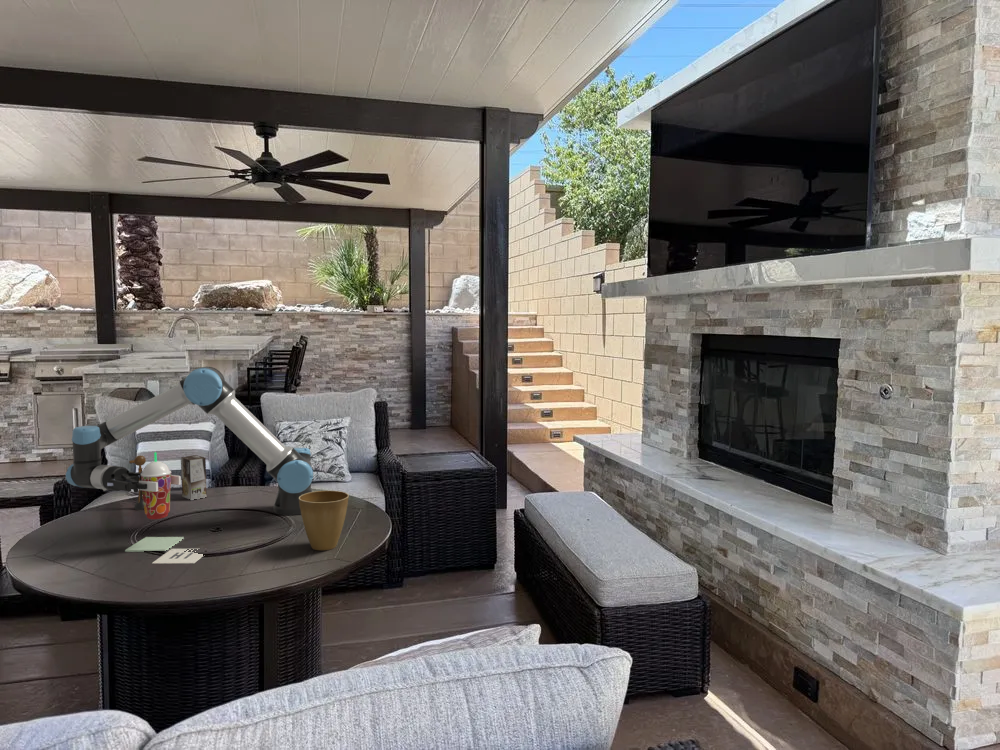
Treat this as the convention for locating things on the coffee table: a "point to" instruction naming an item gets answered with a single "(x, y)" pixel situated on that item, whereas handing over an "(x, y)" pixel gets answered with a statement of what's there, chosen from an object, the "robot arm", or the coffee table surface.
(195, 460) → the coffee box
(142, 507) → the wooden tabletop sculpture
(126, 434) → the robot arm
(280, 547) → the coffee table surface
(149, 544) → the coaster
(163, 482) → the smoothie
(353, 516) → the coffee table surface
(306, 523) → the plant pot
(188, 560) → the tile
